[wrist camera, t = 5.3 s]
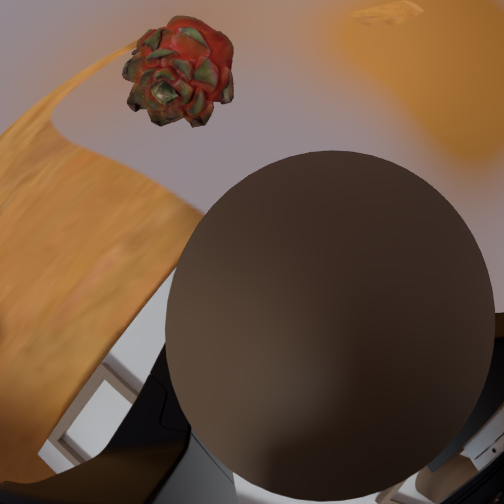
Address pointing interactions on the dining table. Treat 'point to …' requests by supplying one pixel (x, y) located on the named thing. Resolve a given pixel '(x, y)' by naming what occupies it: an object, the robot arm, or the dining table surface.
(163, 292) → the board
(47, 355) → the dining table surface
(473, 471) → the pin
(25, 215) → the dining table surface
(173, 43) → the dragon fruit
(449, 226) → the pin
